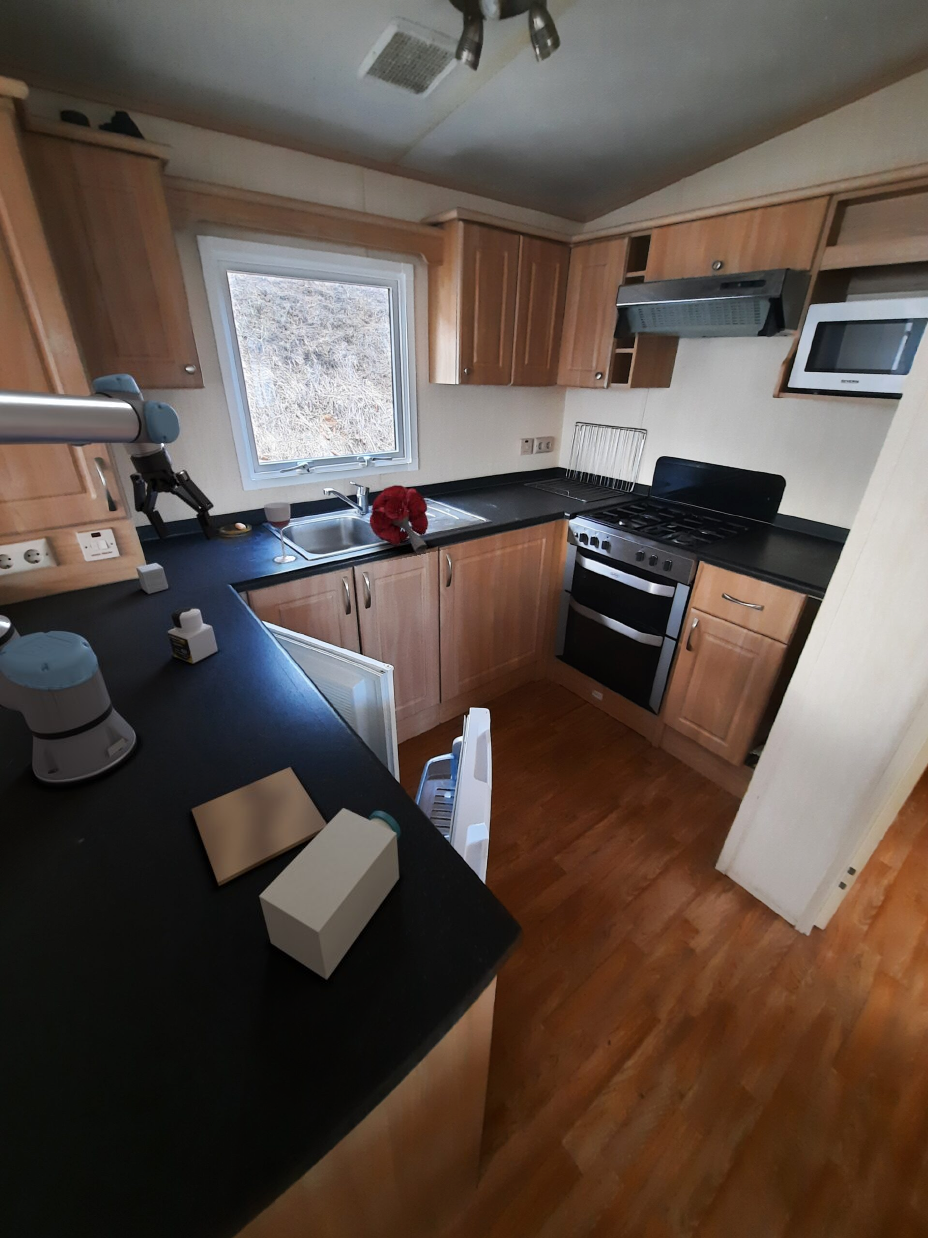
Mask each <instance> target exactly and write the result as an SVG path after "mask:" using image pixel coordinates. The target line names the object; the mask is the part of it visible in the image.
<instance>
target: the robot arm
mask: <svg viewBox="0 0 928 1238" xmlns="http://www.w3.org/2000/svg"><path fill="white" fill-rule="evenodd" d="M92 385H93V388H94V392H95V393H92V394H89V395H77V394H65V393H55V392H43V391H31V390H19V389H9V388H0V446H3V445H4V446H6V445H10V446H11V445H13V446H14V445H70V446H72V447H78V448H80V447H84V446H87V445H88V446H91V445H92V444H122V445H123V448H124V450H125V452H126V454H128V455H129V456H130V457H129V459H130V462H131V463H132V465H133V467H134V470H135V471H136V472H134V473H132V474H130V475H129V478H130V481H131V483H132V489H133V490H132V491H133V501H134V503H133V504H134V510H135V512H137V513H142V514H143V515H145V516H146V518H147V520H148V522H149V523H150V525H151V526H152V527H153V528H154V530H155V532H156V534H157V537H158V538H159V540H164V539H166V538H167V537H168V536H170V535H171V534H170V532H169V530H168V527H167V525H166V523H165V521H164V519H163V517H162V516H161V513H160V512H159V510H158V509H157V507H156V503H157V499H158V496H159V494H161V493H166V494H169V493H170V494H172V495H173V496H176V497H177V498H179V499H180V500H181V501H182V502H183V503H185V504H186V505H187V506H189V507H190V508H191V509H192V510H194V511H195V512H196V513H197V514H195V517H196V518H197V521H198V523H199V525H200V528H201V530H202V532H203V534H204V536H205V539H206V540H207V541H210V540H211V539H213V538H214V537H216V535H217V533H216V530H215V529H214V526H213V522H214V521H213V519H212V517H211V515H210V512H209V511H211V510H212V509H214V507H215V505H214V503H213V502H212V501H211V500H210V499H209V498H208V496H206V494H205V493H204V492H203V491H202V490H201V488H200V487H198V485H197V484H196V483H195V482H194V481H193V480H192V479H191V476H190V475H189V473H188V470H186V469H182V470H180V471H178V472H175V471H174V469H173V461H172V458H171V457H170V454H169V452H168V450H167V448H165V447H164V446H165V444H166V445H168V444H172V443H174V442H176V440H177V439H178V438H179V436H180V432H181V425H180V424H181V423H180V418H179V415H178V414H177V411H176V410H175V409H174V407H172V406H171V405H170V404H168V403H167V402H163V401H155V400H150V399H149V400H145V399H144V397H143V393H142V392H141V390H140V388H139V387H138V384H137V383H136V381H135V379H134V378H133V376H132V375H130V374H128V373H116V374H109V375H104V376H101V377H98V378H96V379H94V380H93V381H92ZM102 674H103V673H102V671H101V667H100V665H99V662H98V657H97V655H96V654H95V652H94V650H93V648H92V646H91V645H90V643H89V641H87V639H86V638H84V637H83V636H81V635H80V634H77V633H74V632H69V631H63V630H51V631H49V632H43V631H38V632H34V633H30V634H26V635H23V636H21V635H20V634H19V632H18V630H17V629H16V627H15V626H14V625H13V623H12V622H11V620H10V619H9V618H8V617H7V616H5V615H2V614H0V708H1V709H4V710H5V709H6V710H11V711H17V712H20V713H21V714H22V715H23V718H24V719H25V722H26V724H27V726H28V728H29V730H30V732H31V733H30V734H31V735H32V757H31V759H30V760H29V761H28V762H27V763H26V764H25V767H26V768H30V767H31V766H32V771H33V773H34V775H35V777H36V779H37V781H38V782H40V783H41V784H43V785H45V786H48V787H56V788H57V787H58V788H63V787H72V786H77V785H82V784H86V783H88V782H92V781H94V780H97V779H99V778H101V777H103V776H106V775H107V774H110V773H111V772H113V771H115V770H116V769H118V768H119V767H121V766H123V764H124V763H126V762H127V761H128V760H129V759H130V758H131V757H132V755H133V754H134V753H135V751H136V749H137V746H138V738H137V736H136V732H135V730H134V729H133V727H132V726H131V725H130V724H129V723H128V722H127V721H126V720H125V718H123V717H122V716H121V715H120V713H118V712H117V710H116V709H115V708H114V706H113V704H112V701H111V698H110V695H109V692H108V689H107V687H106V683H105V680H104V677H103V675H102Z"/></svg>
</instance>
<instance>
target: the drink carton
mask: <svg viewBox="0 0 928 1238" xmlns="http://www.w3.org/2000/svg"><path fill="white" fill-rule="evenodd" d="M326 824H327V825H326V826H325V828H324V829H323V830H322V831H321V832H320V833H319V834H318V835H317V836H315V837H313V839H312V840H311V841H310V842H309V843H308V844H307V845H306V846H305V848H303V849H302V850H301V852H300V853H298V854H297V856H296V857H295V858H294V859H293V860H292V861H290V863H289V864H288V865H287V866H286V867H285V868H284V869H283V870H282V872H280V873H279V875H277V876H276V878H275V879H274V880H273V881H272V882H271V883H270V884H269V885H268V886H267V887H266V888H265V889H264V890H263V891H262V892H261V893H260V895H258V897H259V899H260V900H259V901H260V904H261V909H262V912H263V917H264V921H265V924H266V925H265V926H266V928H267V933H268V937H269V940H270V944H271V945H273V946H275V947H276V948H278V949H279V950H280V951H282V952H284V953H285V954H287V955H288V956H290V957H292V959H294V960H296V961H297V962H299V963H301V964H302V965H304V966H305V967H307V968H308V969H310V970H311V971H312V972H314V973H315V974H318V975H319V976H320V977H322V978H323V979H325V980H328V979H329V978H330V976H331V975H332V973H333V972H334V971H335V969H336V968H337V967H338V965H339V964H340V962H341V961H342V960H343V958H344V957H345V955H346V954H347V952H348V951H349V950H350V948H351V947H352V945H353V944H354V942H355V941H356V940H357V938H358V937H359V936H360V934H361V932H362V931H364V930H363V929H365V927H366V926H367V924H368V923H369V922H370V920H371V918H372V917H373V916H374V914H375V913H376V912H377V910H378V909H379V907H380V905H381V904H382V903H383V902H384V900H385V899H386V897H387V896H388V895H389V893H390V892H391V891H392V889H393V888H394V886H395V885H396V883H397V882H398V880H399V879H400V870H399V869H400V867H399V855H398V854H399V852H398V840H399V838H400V837H401V834H402V832H401V831H402V830H401V827H400V825H399V824H398V822H397V821H396V820H395V818H393V816H392V815H390V814H389V813H387V812H385V811H382V810H375V811H373V812H372V813H371V814H370V815H369V817H368V818H366V817H363V816H361V815H359V814H358V813H355V812H352V810H350V809H346V808H344V807H343V808H341V809H340V810H339V812H338V813H336V815H335V816H334V817H333V818H332V819H331V820H330V821H329V822H328V823H326Z"/></svg>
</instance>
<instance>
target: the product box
mask: <svg viewBox="0 0 928 1238" xmlns="http://www.w3.org/2000/svg"><path fill="white" fill-rule="evenodd" d="M135 569H136V572H137V577H138V580H139V583H140V586H141V589H142V590H143V591H144V592H145V593H147V594H148V595H150V594H153V593H157V592H160V591H161V592H162V591H164V590H168V589H169V584H168V581H167V577H166V573H165V571H164V567H163V566H161V565H160V564H158V562H154V563H150V564H144V565H140V566H136V567H135Z"/></svg>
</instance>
